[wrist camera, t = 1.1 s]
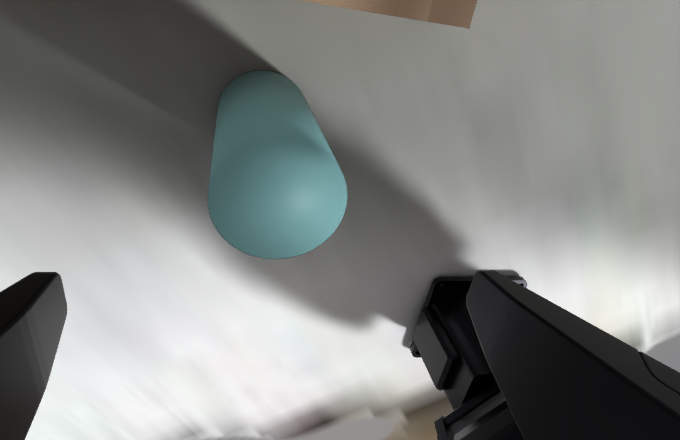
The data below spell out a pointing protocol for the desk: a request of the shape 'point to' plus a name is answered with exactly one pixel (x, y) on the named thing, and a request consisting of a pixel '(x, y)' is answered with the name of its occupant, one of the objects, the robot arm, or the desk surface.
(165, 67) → the desk surface
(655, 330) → the desk surface
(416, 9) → the socket block
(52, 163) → the desk surface
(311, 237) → the teal rounded cylinder
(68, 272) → the desk surface
